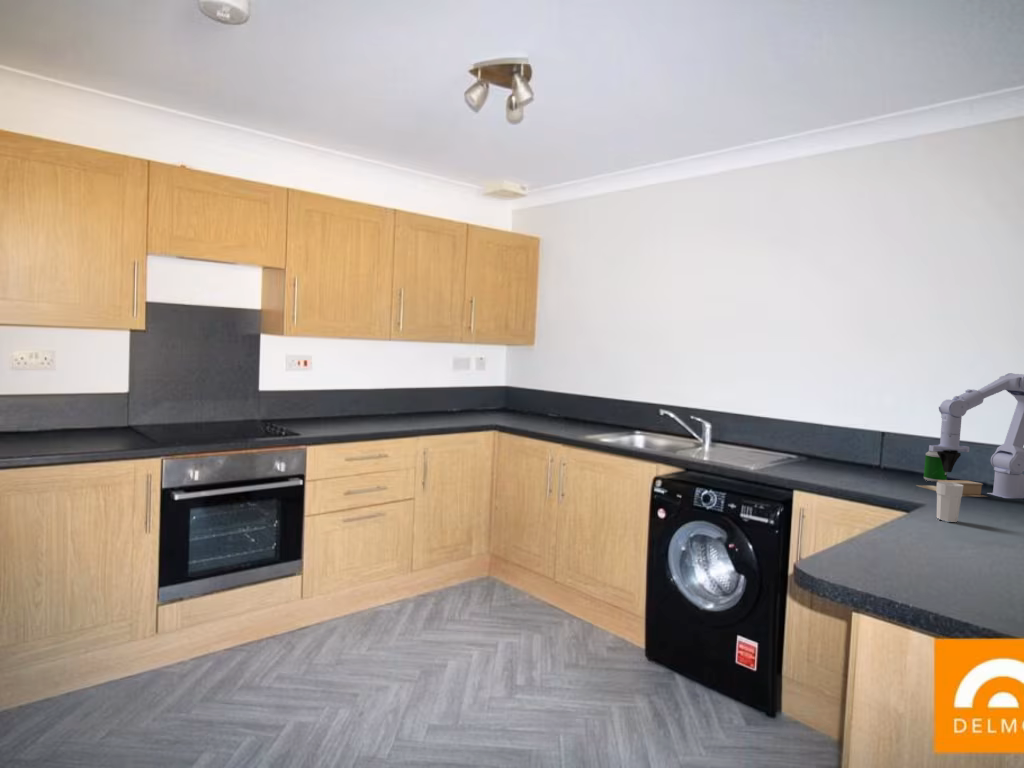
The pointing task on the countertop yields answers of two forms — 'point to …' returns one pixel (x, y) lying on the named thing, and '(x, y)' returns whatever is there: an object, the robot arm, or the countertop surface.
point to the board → (936, 490)
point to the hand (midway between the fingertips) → (947, 471)
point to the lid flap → (961, 482)
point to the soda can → (933, 467)
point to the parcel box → (971, 489)
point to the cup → (948, 500)
